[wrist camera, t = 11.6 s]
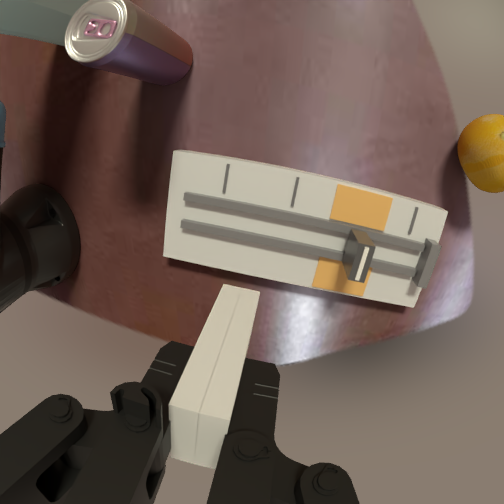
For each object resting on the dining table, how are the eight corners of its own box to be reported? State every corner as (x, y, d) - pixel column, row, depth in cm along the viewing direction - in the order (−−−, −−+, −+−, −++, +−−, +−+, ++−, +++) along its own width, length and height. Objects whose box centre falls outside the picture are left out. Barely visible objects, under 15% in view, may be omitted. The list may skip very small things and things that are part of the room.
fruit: (476, 100, 26) (515, 96, 19) (511, 152, 27) (550, 161, 20) (434, 147, 29) (469, 153, 22) (472, 199, 30) (509, 217, 23)
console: (169, 250, 38) (156, 262, 34) (180, 149, 33) (166, 151, 29) (408, 299, 36) (418, 316, 32) (440, 207, 31) (456, 216, 28)
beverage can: (182, 92, 31) (108, 71, 17) (137, 79, 31) (52, 60, 17) (203, 44, 28) (143, -6, 15) (157, 33, 28) (81, -10, 14)
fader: (340, 257, 33) (348, 280, 28) (349, 225, 32) (359, 243, 26) (354, 260, 33) (364, 283, 28) (363, 228, 31) (376, 247, 26)
